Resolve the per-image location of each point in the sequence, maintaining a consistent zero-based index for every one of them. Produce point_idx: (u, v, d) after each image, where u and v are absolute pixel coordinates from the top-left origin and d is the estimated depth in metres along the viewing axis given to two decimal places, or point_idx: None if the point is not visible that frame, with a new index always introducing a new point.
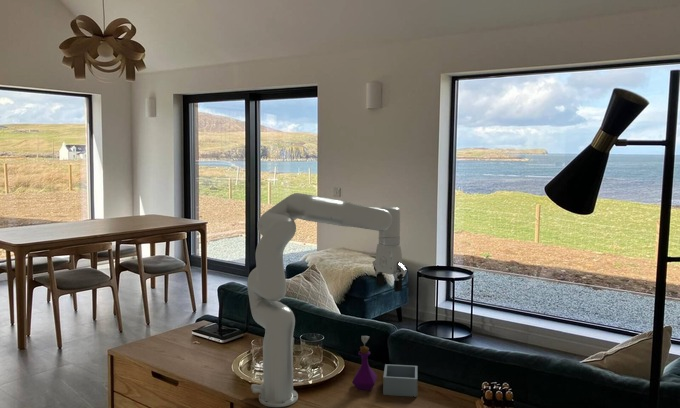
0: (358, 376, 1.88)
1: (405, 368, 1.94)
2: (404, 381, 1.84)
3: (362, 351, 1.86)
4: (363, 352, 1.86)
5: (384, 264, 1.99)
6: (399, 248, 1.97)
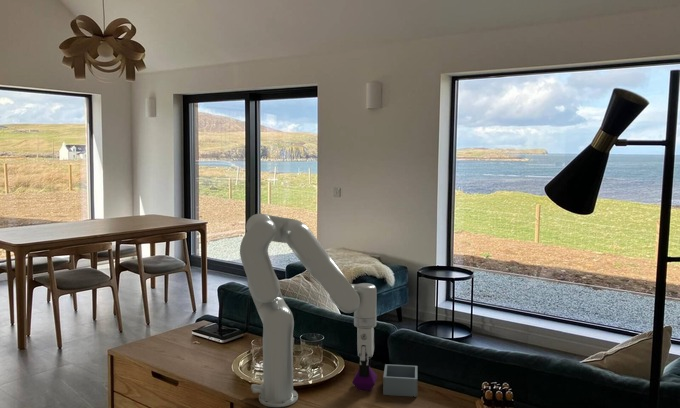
0: (358, 376, 1.88)
1: (405, 368, 1.94)
2: (404, 381, 1.84)
3: None
4: None
5: (373, 343, 1.89)
6: None
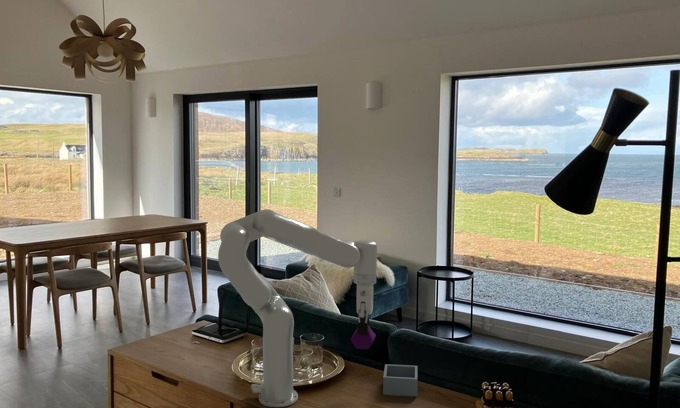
0: (356, 333, 1.86)
1: (405, 368, 1.94)
2: (404, 381, 1.84)
3: None
4: None
5: (372, 301, 1.88)
6: None
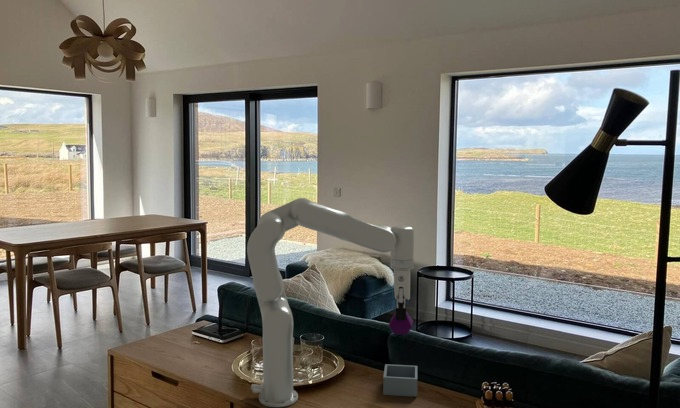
0: (394, 319, 1.85)
1: (405, 368, 1.94)
2: (404, 381, 1.84)
3: None
4: None
5: None
6: None
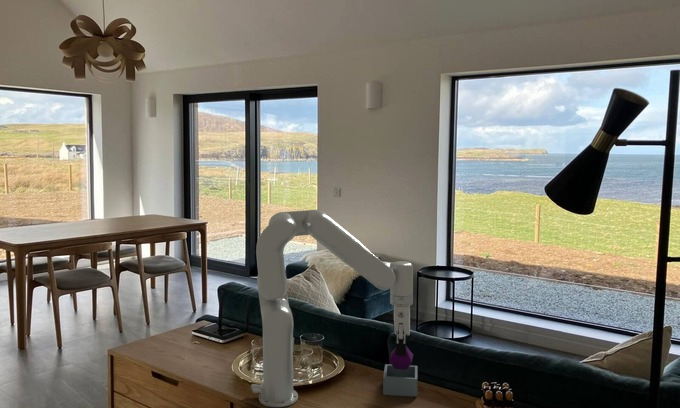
0: (395, 354, 1.86)
1: None
2: (404, 381, 1.84)
3: None
4: None
5: None
6: None
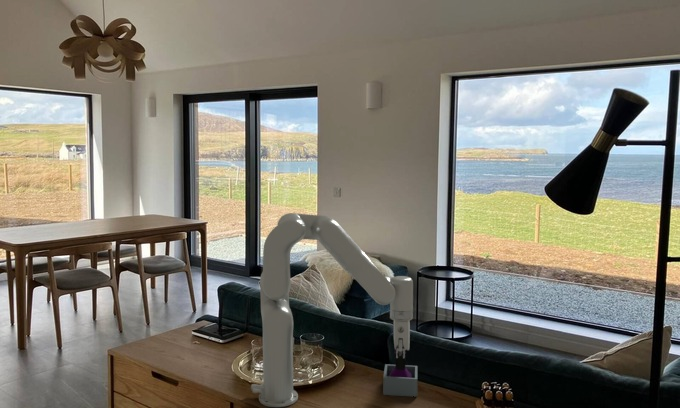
0: (393, 375, 1.87)
1: None
2: (404, 381, 1.84)
3: None
4: None
5: None
6: None
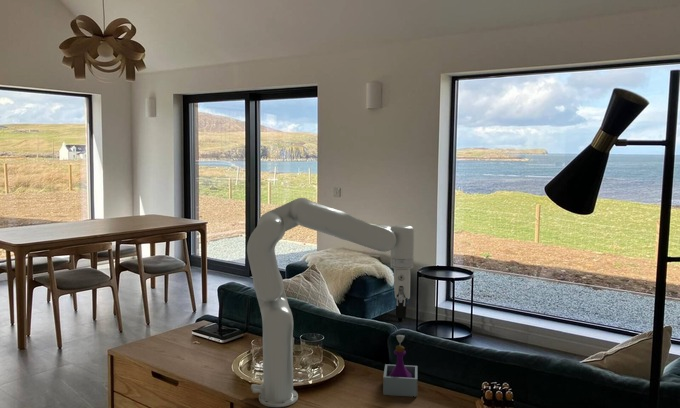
0: (393, 375, 1.87)
1: None
2: (404, 381, 1.84)
3: (398, 350, 1.85)
4: (399, 351, 1.85)
5: None
6: None
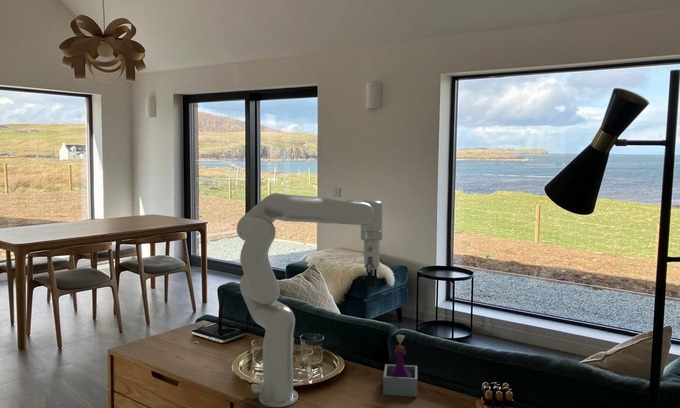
0: (393, 375, 1.87)
1: None
2: (404, 381, 1.84)
3: (398, 350, 1.85)
4: (399, 351, 1.85)
5: (379, 257, 1.98)
6: None
